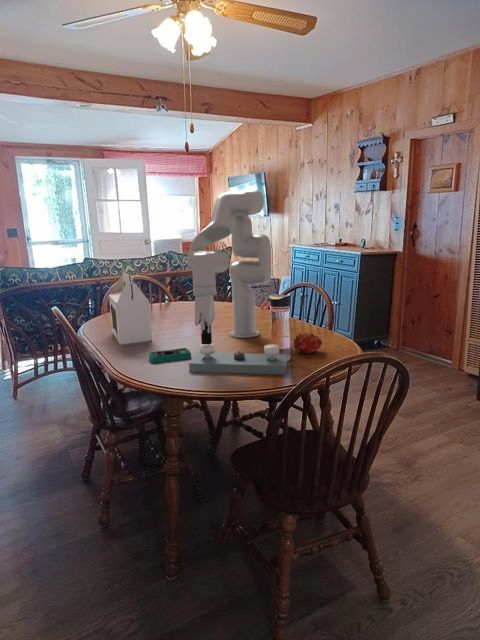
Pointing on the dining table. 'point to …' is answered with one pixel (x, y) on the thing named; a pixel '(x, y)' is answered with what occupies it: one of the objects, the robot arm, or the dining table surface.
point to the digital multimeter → (169, 355)
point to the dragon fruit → (307, 343)
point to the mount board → (239, 364)
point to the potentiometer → (239, 355)
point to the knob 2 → (271, 351)
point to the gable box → (129, 312)
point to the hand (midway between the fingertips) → (206, 343)
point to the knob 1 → (207, 350)
